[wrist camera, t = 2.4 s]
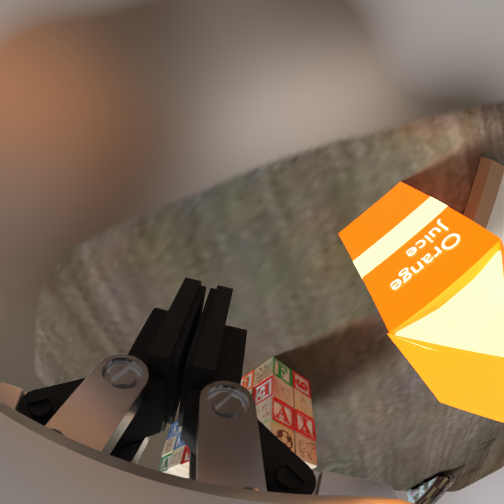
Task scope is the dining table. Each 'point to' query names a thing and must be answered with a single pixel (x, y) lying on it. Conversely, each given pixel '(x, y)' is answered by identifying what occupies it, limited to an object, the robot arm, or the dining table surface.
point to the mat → (488, 197)
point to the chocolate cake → (430, 490)
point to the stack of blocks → (263, 416)
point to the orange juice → (437, 294)
